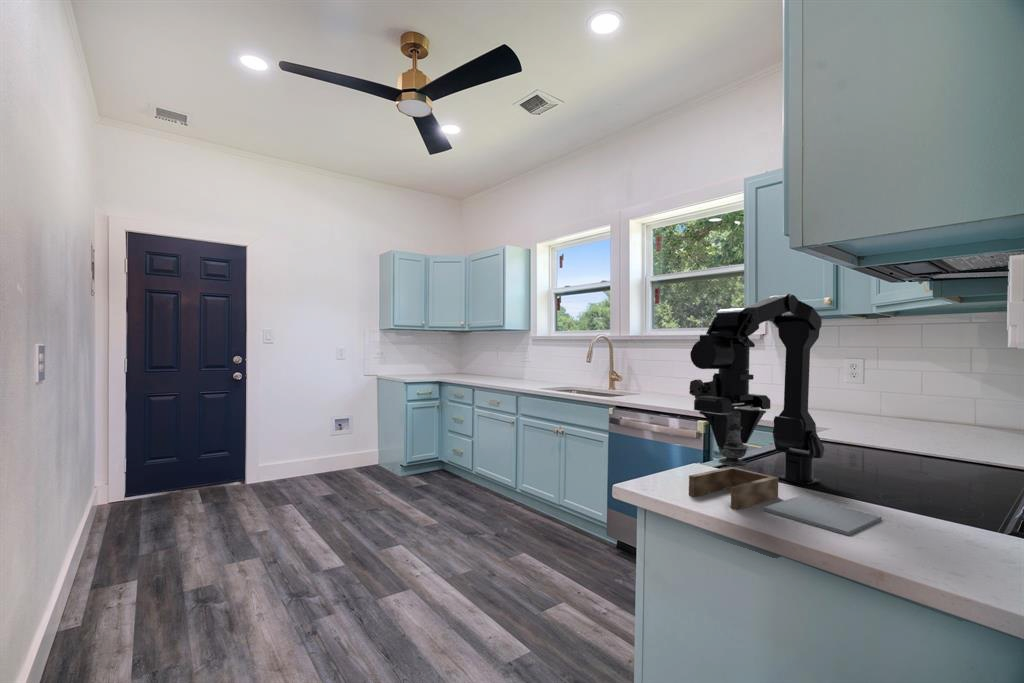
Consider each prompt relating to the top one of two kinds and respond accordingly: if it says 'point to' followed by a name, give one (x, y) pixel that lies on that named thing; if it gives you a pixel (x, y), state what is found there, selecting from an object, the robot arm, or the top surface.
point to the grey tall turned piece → (733, 443)
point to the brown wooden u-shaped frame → (736, 485)
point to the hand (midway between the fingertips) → (732, 445)
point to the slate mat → (823, 514)
